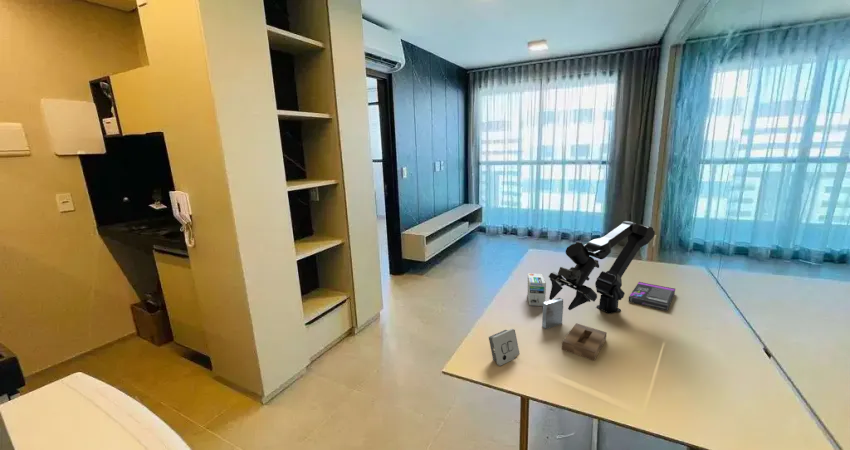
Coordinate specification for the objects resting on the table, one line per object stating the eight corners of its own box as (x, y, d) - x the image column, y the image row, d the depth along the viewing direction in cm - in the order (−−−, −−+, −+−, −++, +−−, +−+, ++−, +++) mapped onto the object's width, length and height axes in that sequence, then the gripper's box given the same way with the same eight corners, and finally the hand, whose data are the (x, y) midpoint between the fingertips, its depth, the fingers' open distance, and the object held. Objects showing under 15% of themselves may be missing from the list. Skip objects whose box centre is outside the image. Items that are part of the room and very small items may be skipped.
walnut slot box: (575, 333, 122) (576, 323, 121) (605, 342, 115) (606, 332, 114) (561, 351, 111) (562, 341, 110) (593, 363, 105) (594, 352, 104)
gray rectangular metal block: (558, 324, 128) (559, 297, 125) (561, 326, 126) (563, 299, 124) (542, 329, 125) (543, 302, 122) (545, 331, 123) (546, 304, 121)
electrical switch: (499, 367, 105) (497, 340, 104) (488, 360, 110) (486, 333, 108) (520, 356, 110) (518, 330, 109) (509, 350, 114) (507, 325, 113)
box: (638, 288, 156) (627, 302, 143) (638, 281, 156) (628, 295, 142) (674, 296, 147) (667, 312, 133) (675, 288, 146) (668, 304, 132)
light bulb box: (545, 306, 142) (546, 283, 139) (529, 305, 143) (529, 282, 141) (542, 295, 152) (543, 273, 149) (526, 294, 153) (527, 272, 151)
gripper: (552, 252, 131) (530, 284, 129) (593, 267, 114) (567, 304, 113) (567, 267, 136) (545, 298, 134) (607, 283, 119) (583, 319, 118)
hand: (559, 304), depth 125 cm, fingers open, 9 cm apart
